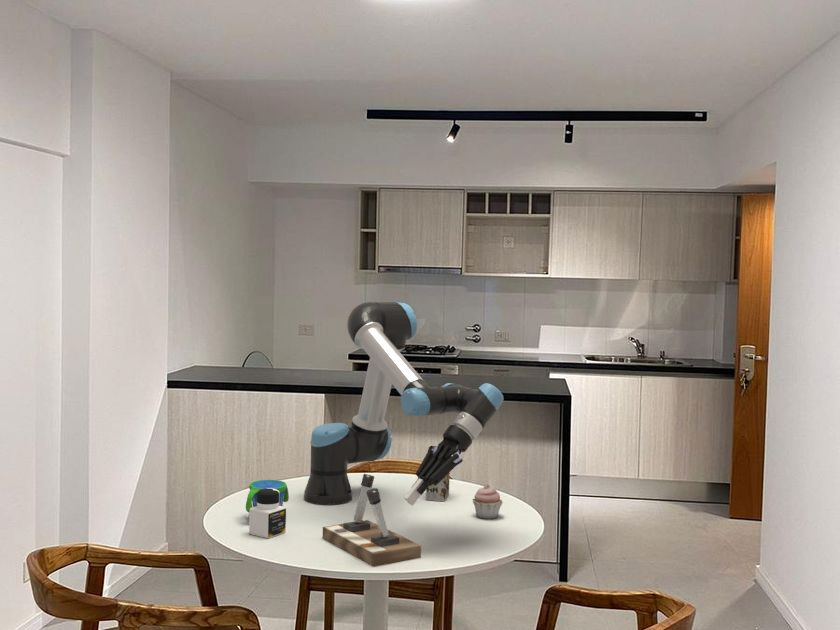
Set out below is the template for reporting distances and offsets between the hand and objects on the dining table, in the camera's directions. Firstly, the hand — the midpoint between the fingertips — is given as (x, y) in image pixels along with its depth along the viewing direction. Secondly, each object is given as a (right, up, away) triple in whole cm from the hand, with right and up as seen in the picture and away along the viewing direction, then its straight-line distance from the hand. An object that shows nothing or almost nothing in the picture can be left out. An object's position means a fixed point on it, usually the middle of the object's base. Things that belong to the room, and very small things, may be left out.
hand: (408, 501), depth 220 cm
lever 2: (-6, -8, -4) cm, 11 cm away
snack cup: (-41, -11, +25) cm, 49 cm away
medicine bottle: (-39, -11, +11) cm, 42 cm away
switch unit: (-10, -12, +2) cm, 16 cm away
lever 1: (-14, -8, +8) cm, 18 cm away
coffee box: (+9, -11, +55) cm, 57 cm away
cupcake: (+23, -12, +35) cm, 44 cm away
